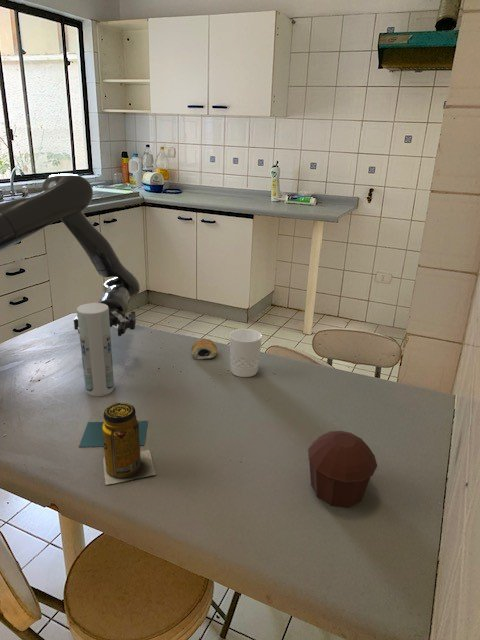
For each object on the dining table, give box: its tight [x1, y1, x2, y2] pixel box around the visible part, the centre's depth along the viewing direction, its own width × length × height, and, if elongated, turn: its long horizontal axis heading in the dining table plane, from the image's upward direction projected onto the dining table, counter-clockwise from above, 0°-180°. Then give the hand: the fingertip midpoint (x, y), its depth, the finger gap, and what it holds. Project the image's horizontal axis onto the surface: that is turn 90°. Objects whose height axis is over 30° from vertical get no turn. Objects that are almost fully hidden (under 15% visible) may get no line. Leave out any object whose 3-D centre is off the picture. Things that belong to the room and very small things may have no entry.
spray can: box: [76, 302, 115, 397], centre depth 102 cm, size 6×6×20 cm
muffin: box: [307, 430, 378, 508], centre depth 77 cm, size 12×11×10 cm
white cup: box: [229, 328, 263, 378], centre depth 115 cm, size 8×8×10 cm
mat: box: [78, 420, 149, 448], centre depth 91 cm, size 12×8×1 cm, turn 95°
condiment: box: [102, 402, 157, 486], centre depth 80 cm, size 7×8×12 cm
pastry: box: [191, 337, 218, 360], centre depth 125 cm, size 9×7×4 cm
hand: (100, 332), depth 107 cm, fingers open, 8 cm apart
